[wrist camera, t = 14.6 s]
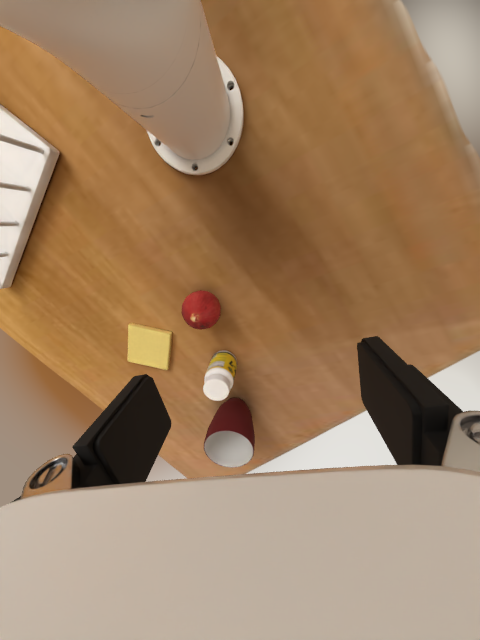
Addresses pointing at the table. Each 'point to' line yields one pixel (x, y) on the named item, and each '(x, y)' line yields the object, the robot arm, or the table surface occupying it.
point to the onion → (201, 309)
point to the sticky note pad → (149, 346)
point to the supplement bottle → (220, 375)
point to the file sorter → (20, 187)
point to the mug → (231, 435)
